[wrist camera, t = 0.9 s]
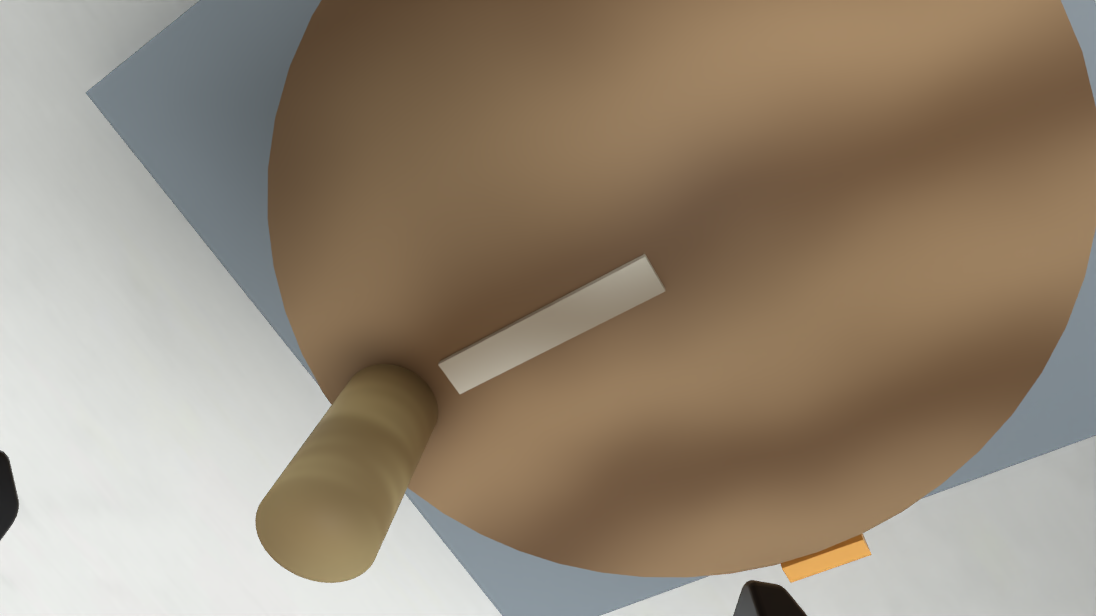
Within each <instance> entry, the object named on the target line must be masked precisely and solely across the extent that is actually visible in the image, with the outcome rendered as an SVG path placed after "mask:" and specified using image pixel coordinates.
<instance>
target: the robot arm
mask: <svg viewBox="0 0 1096 616" xmlns="http://www.w3.org/2000/svg"><path fill="white" fill-rule="evenodd" d="M18 509H19V500H18V496H17V491H16V487H15V482H14V478H13V473H12V469H11V464H10V461H9V458H8V456H7V455H6V454H5V453H4V452H3V451H1V450H0V540H1V539H2V538H3V536H4V535H5V534H6V532H7V531H8V530H9V528H10V527H11V525H12V524H13V522H14V520H15V518H16V516H17V513H18ZM733 616H807V615H806V614H805V612H804V611H803V610H802V609H801V608H800V606H799V605H798V604H797V603H796V601H795V600H794V599H793V598H792V596H791V595H790V594H789V593H788V592H787V591H786V589H784V588H783V587H782V586H780V585H777V584H771V583H766V582H760V581H754V580H751V581H748V582H746V583H745V585H744V586H743V588H742V591H741V594H740V597H739V600H738V603H737V606H736V609H735V612H734V615H733Z"/></svg>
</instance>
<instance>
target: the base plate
mask: <svg viewBox="0 0 1096 616" xmlns="http://www.w3.org/2000/svg"><path fill="white" fill-rule="evenodd" d="M320 2H321V0H200V1H198V2H197V3H196V4H195V5H194V6H192V7H191V8H190V9H189V10H187V11H186V12H185V13H184V14H182V15H181V16H180V17H179V18H177V19H176V20H175V21H174V22H172V23H171V24H170V25H169V26H167V27H166V28H165V29H164V30H163V31H161V32H160V33H159V34H158V35H156V36H155V37H154V38H153V39H151V40H150V41H149V42H148V43H146V44H145V45H144V46H143V47H141V48H140V49H139V50H138V51H137V52H135V53H134V54H133V55H132V56H130V57H129V58H128V59H127V60H125V61H124V62H123V63H122V64H120V65H119V66H118V67H117V68H115V69H114V70H113V71H112V72H111V73H109V74H108V75H107V76H106V77H104V78H103V79H102V80H101V81H99V82H98V83H97V84H96V85H94V86H93V87H92V88H91V89H89V90H88V91H87V92H86V94H87V95H88V96H89V98H90V99H91V100H92V101H93V103H94V104H95V105H96V106H97V108H98V109H99V110H100V111H101V113H102V114H103V115H104V116H105V118H106V119H107V120H108V121H109V123H110V124H111V125H112V126H113V128H114V129H115V130H116V131H117V133H118V134H119V135H120V136H121V138H122V139H123V140H124V141H125V143H126V144H127V145H128V147H129V148H130V149H131V150H132V152H133V153H134V154H135V155H136V157H137V158H138V159H139V160H140V162H141V163H142V164H143V165H144V167H145V168H146V169H147V170H148V172H149V173H150V174H151V175H152V177H153V178H154V179H155V180H156V182H157V183H158V184H159V185H160V187H161V188H162V189H163V190H164V192H165V193H166V194H167V195H168V197H169V198H170V199H171V200H172V202H173V203H174V204H175V205H176V207H177V208H178V209H179V210H180V212H181V213H182V214H183V216H184V217H185V218H186V219H187V221H188V222H189V223H190V224H191V226H192V227H193V228H194V229H195V231H196V232H197V233H198V234H199V236H200V237H201V238H202V239H203V241H204V242H205V243H206V244H207V246H208V247H209V248H210V249H211V251H212V252H213V253H214V254H215V256H216V257H217V258H218V259H219V261H220V262H221V263H222V264H223V266H224V267H225V268H226V269H227V271H228V272H229V273H230V274H231V276H232V277H233V278H234V279H235V281H236V282H237V283H238V285H239V286H240V287H241V288H242V290H243V291H244V292H245V293H246V295H247V296H248V297H249V298H250V300H251V301H252V302H253V303H254V305H255V306H256V307H257V308H258V310H259V311H260V312H261V313H262V315H263V316H264V317H265V318H266V320H267V321H268V322H269V323H270V325H271V326H272V327H273V328H274V330H275V331H276V332H277V333H278V335H279V336H280V337H281V338H282V340H283V341H284V342H285V343H286V345H287V346H288V347H289V348H290V350H291V351H292V352H293V354H294V355H295V356H296V357H297V359H298V360H299V361H300V362H301V364H302V365H303V366H304V367H305V369H306V370H307V371H308V372H309V374H310V375H311V376H312V377H313V379H314V380H315V381H316V382H317V380H316V379H315V377H314V375H313V373H312V371H311V369H310V368H309V366H308V364H307V362H306V360H305V358H304V357H303V355H302V353H301V350H300V348H299V345H298V342H297V340H296V337H295V335H294V332H293V330H292V327H291V325H290V322H289V320H288V317H287V315H286V312H285V309H284V305H283V301H282V297H281V293H280V289H279V286H278V282H277V278H276V274H275V270H274V266H273V258H272V250H271V242H270V234H269V226H268V164H269V157H270V150H271V143H272V136H273V129H274V122H275V116H276V113H277V109H278V106H279V102H280V99H281V95H282V92H283V88H284V84H285V81H286V77H287V74H288V70H289V67H290V64H291V62H292V60H293V58H294V55H295V53H296V51H297V48H298V46H299V44H300V42H301V39H302V37H303V35H304V33H305V30H306V28H307V26H308V23H309V21H310V19H311V17H312V15H313V13H314V11H315V10H316V8H317V7H318V5H319V3H320ZM1061 2H1062V4H1063V7H1064V9H1065V11H1066V14H1067V16H1068V19H1069V21H1070V23H1071V26H1072V28H1073V30H1074V33H1075V35H1076V38H1077V40H1078V42H1079V45H1080V47H1081V49H1082V52H1083V56H1084V60H1085V64H1086V68H1087V73H1088V77H1089V81H1090V85H1091V89H1092V93H1093V97H1094V101H1095V106H1096V3H1095V0H1061ZM317 384H318V382H317ZM318 385H319V384H318ZM1095 435H1096V229H1095V234H1094V238H1093V243H1092V247H1091V252H1090V256H1089V261H1088V265H1087V270H1086V274H1085V278H1084V281H1083V283H1082V286H1081V289H1080V291H1079V294H1078V297H1077V299H1076V302H1075V305H1074V307H1073V310H1072V313H1071V316H1070V318H1069V321H1068V324H1067V326H1066V328H1065V330H1064V332H1063V334H1062V336H1061V338H1060V340H1059V341H1058V343H1057V345H1056V347H1055V349H1054V351H1053V353H1052V355H1051V356H1050V358H1049V360H1048V362H1047V364H1046V366H1045V368H1044V370H1043V372H1042V373H1041V375H1040V376H1039V378H1038V379H1037V380H1036V382H1035V383H1034V385H1033V386H1032V387H1031V389H1030V390H1029V392H1028V393H1027V395H1026V396H1025V397H1024V399H1023V400H1022V402H1021V403H1020V404H1019V406H1018V407H1017V409H1016V410H1015V411H1014V413H1013V414H1012V416H1011V417H1010V418H1009V419H1008V420H1007V421H1006V422H1005V423H1004V424H1003V425H1002V427H1001V428H1000V429H999V430H998V431H997V432H996V433H995V434H994V435H993V436H992V438H991V439H990V440H989V441H988V442H987V443H986V444H985V445H984V446H983V448H982V449H981V450H980V451H979V452H978V453H977V454H976V455H974V456H973V457H972V458H971V459H970V460H969V461H968V462H966V463H965V464H964V465H963V466H962V467H961V468H960V469H958V470H957V471H956V472H955V473H954V474H953V475H952V476H950V477H949V478H948V479H947V480H946V481H945V482H944V483H942V484H941V485H940V486H938V487H937V488H935V489H934V490H933V491H931V492H930V493H928V494H927V495H925V496H924V497H923V498H925V497H927V496H930V495H933V494H936V493H938V492H941V491H944V490H947V489H949V488H952V487H955V486H958V485H960V484H963V483H966V482H969V481H971V480H974V479H977V478H980V477H982V476H985V475H988V474H991V473H993V472H996V471H999V470H1002V469H1004V468H1007V467H1010V466H1013V465H1015V464H1018V463H1021V462H1024V461H1026V460H1029V459H1032V458H1035V457H1037V456H1040V455H1043V454H1046V453H1048V452H1051V451H1054V450H1057V449H1059V448H1062V447H1065V446H1068V445H1070V444H1073V443H1076V442H1079V441H1081V440H1084V439H1087V438H1090V437H1092V436H1095ZM405 494H406V495H407V497H408V498H409V499H410V500H411V502H412V503H413V504H414V505H415V507H416V508H417V509H418V510H419V512H420V513H421V514H422V515H423V517H424V518H425V519H426V520H427V522H428V523H429V524H430V525H431V527H432V528H433V529H434V530H435V532H436V533H437V534H438V535H439V537H440V538H441V539H442V540H443V542H444V543H445V544H446V545H447V547H448V548H449V549H450V550H451V552H452V553H453V554H454V555H455V557H456V558H457V559H458V561H459V562H460V563H461V564H462V566H463V567H464V568H465V569H466V571H467V572H468V573H469V574H470V576H471V577H472V578H473V579H474V581H475V582H476V583H477V584H478V586H479V587H480V588H481V589H482V591H483V592H484V593H485V594H486V596H487V597H488V598H489V599H490V601H491V602H492V603H493V604H494V606H495V607H496V608H497V609H498V611H499V612H500V613H501V614H502V616H600V615H603V614H606V613H608V612H611V611H614V610H617V609H619V608H622V607H625V606H628V605H630V604H633V603H636V602H639V601H641V600H644V599H647V598H650V597H652V596H655V595H658V594H661V593H663V592H666V591H669V590H672V589H674V588H677V587H680V586H683V585H685V584H688V583H691V582H694V581H696V580H699V579H702V578H705V577H707V576H698V577H638V576H629V575H619V574H610V573H601V572H596V571H591V570H587V569H582V568H577V567H572V566H568V565H563V564H558V563H555V562H552V561H549V560H546V559H543V558H540V557H536V556H533V555H530V554H527V553H524V552H521V551H518V550H516V549H513V548H511V547H509V546H506V545H504V544H502V543H499V542H497V541H495V540H493V539H490V538H488V537H486V536H483V535H481V534H479V533H477V532H476V531H474V530H472V529H470V528H468V527H467V526H465V525H463V524H461V523H460V522H458V521H456V520H454V519H453V518H451V517H449V516H447V515H445V514H444V513H442V512H441V511H439V510H438V509H437V508H435V507H434V506H432V505H431V504H430V503H428V502H427V501H425V500H424V499H423V498H421V497H420V496H418V495H417V494H416V493H414V492H413V491H411V490H410V489H409V488H408V487H407V489H406V491H405ZM921 499H922V498H921ZM869 555H872V554H871V552H870V550H869V548H868V545H867V543H866V541H865V538H864V536H863V534H860V535H858V536H855V537H853V538H851V539H848V540H846V541H843V542H841V543H839V544H836V545H834V546H831V547H829V548H826V549H824V550H822V551H819V552H816V553H813V554H810V555H806V556H803V557H800V558H796V559H793V560H790V561H786V562H783V563H781V566H782V569H783V571H784V572H785V574H786V576H787V577H788V579H789V581H790V582H794V581H797V580H800V579H803V578H806V577H809V576H812V575H814V574H817V573H820V572H823V571H826V570H829V569H832V568H835V567H837V566H840V565H843V564H846V563H849V562H852V561H855V560H858V559H860V558H863V557H866V556H869ZM709 576H710V575H709Z"/></svg>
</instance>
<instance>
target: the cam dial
mask: <svg viewBox="0 0 1096 616" xmlns="http://www.w3.org/2000/svg"><path fill="white" fill-rule="evenodd" d="M268 226H269V234H270V242H271V250H272V258H273V266H274V270H275V274H276V278H277V282H278V286H279V289H280V293H281V297H282V301H283V305H284V309H285V312H286V315H287V317H288V320H289V322H290V325H291V327H292V330H293V332H294V335H295V337H296V340H297V342H298V345H299V348H300V350H301V353H302V355H303V357H304V358H305V360H306V362H307V364H308V366H309V368H310V369H311V371H312V373H313V375H314V377H315V379H316V380H317V382H318V384H319V386H320V388H321V390H322V391H323V393H324V395H325V396H326V397H327V399H328V400H329V402H330V403H331V404H332V405H331V407H330V408H329V410H328V411H327V412H326V414H325V415H324V416H323V418H322V419H321V421H320V422H319V423H318V425H317V426H316V427H315V429H314V430H313V432H312V433H311V434H310V436H309V437H308V438H307V440H306V441H305V443H304V444H303V445H302V447H301V448H300V449H299V451H298V452H297V454H296V455H295V456H294V458H293V459H292V460H291V462H290V463H289V464H288V466H287V467H286V469H285V470H284V471H283V473H282V474H281V475H280V477H279V478H278V480H277V481H276V482H275V484H274V485H273V486H272V488H271V489H270V491H269V492H268V493H267V495H266V496H265V497H264V499H263V500H262V502H261V503H260V505H259V507H258V510H257V513H256V530H257V534H258V537H259V539H260V541H261V544H262V545H263V547H264V548H265V550H266V551H267V552H268V554H269V555H270V556H271V557H272V558H273V559H274V560H275V561H276V562H277V563H278V564H280V565H281V566H282V567H284V568H285V569H287V570H288V571H290V572H292V573H294V574H296V575H298V576H300V577H303V578H306V579H309V580H313V581H318V582H326V583H335V582H343V581H347V580H351V579H353V578H356V577H358V576H360V575H361V574H363V573H364V572H365V571H366V570H367V569H368V568H369V567H370V566H371V565H372V563H373V562H374V560H375V558H376V556H377V553H378V551H379V549H380V547H381V545H382V542H383V540H384V538H385V536H386V534H387V531H388V529H389V527H390V525H391V522H392V520H393V518H394V516H395V514H396V511H397V509H398V507H399V505H400V503H401V500H402V498H403V496H404V494H405V491H406V489H407V487H408V488H409V489H410V490H411V491H413V492H414V493H416V494H417V495H418V496H420V497H421V498H423V499H424V500H425V501H427V502H428V503H430V504H431V505H432V506H434V507H435V508H437V509H438V510H439V511H441V512H442V513H444V514H445V515H447V516H449V517H451V518H453V519H454V520H456V521H458V522H460V523H461V524H463V525H465V526H467V527H468V528H470V529H472V530H474V531H476V532H477V533H479V534H481V535H483V536H486V537H488V538H490V539H493V540H495V541H497V542H499V543H502V544H504V545H506V546H509V547H511V548H513V549H516V550H518V551H521V552H524V553H527V554H530V555H533V556H536V557H540V558H543V559H546V560H549V561H552V562H555V563H558V564H563V565H568V566H572V567H577V568H582V569H587V570H591V571H596V572H601V573H610V574H619V575H629V576H638V577H698V576H709V575H720V574H731V573H736V572H741V571H746V570H752V569H757V568H762V567H767V566H772V565H776V564H780V563H783V562H786V561H790V560H793V559H796V558H800V557H803V556H806V555H810V554H813V553H816V552H819V551H822V550H824V549H826V548H829V547H831V546H834V545H836V544H839V543H841V542H843V541H846V540H848V539H851V538H853V537H855V536H858V535H860V534H862V533H864V532H866V531H868V530H869V529H871V528H873V527H875V526H877V525H879V524H880V523H882V522H884V521H886V520H888V519H890V518H891V517H893V516H895V515H897V514H899V513H901V512H902V511H904V510H905V509H907V508H908V507H910V506H911V505H912V504H914V503H915V502H917V501H918V500H920V499H921V498H923V497H924V496H925V495H927V494H928V493H930V492H931V491H933V490H934V489H935V488H937V487H938V486H940V485H941V484H942V483H944V482H945V481H946V480H947V479H948V478H949V477H950V476H952V475H953V474H954V473H955V472H956V471H957V470H958V469H960V468H961V467H962V466H963V465H964V464H965V463H966V462H968V461H969V460H970V459H971V458H972V457H973V456H974V455H976V454H977V453H978V452H979V451H980V450H981V449H982V448H983V446H984V445H985V444H986V443H987V442H988V441H989V440H990V439H991V438H992V436H993V435H994V434H995V433H996V432H997V431H998V430H999V429H1000V428H1001V427H1002V425H1003V424H1004V423H1005V422H1006V421H1007V420H1008V419H1009V418H1010V417H1011V416H1012V414H1013V413H1014V411H1015V410H1016V409H1017V407H1018V406H1019V404H1020V403H1021V402H1022V400H1023V399H1024V397H1025V396H1026V395H1027V393H1028V392H1029V390H1030V389H1031V387H1032V386H1033V385H1034V383H1035V382H1036V380H1037V379H1038V378H1039V376H1040V375H1041V373H1042V372H1043V370H1044V368H1045V366H1046V364H1047V362H1048V360H1049V358H1050V356H1051V355H1052V353H1053V351H1054V349H1055V347H1056V345H1057V343H1058V341H1059V340H1060V338H1061V336H1062V334H1063V332H1064V330H1065V328H1066V326H1067V324H1068V321H1069V318H1070V316H1071V313H1072V310H1073V307H1074V305H1075V302H1076V299H1077V297H1078V294H1079V291H1080V289H1081V286H1082V283H1083V281H1084V278H1085V274H1086V270H1087V265H1088V261H1089V256H1090V252H1091V247H1092V243H1093V238H1094V234H1095V229H1096V106H1095V101H1094V97H1093V93H1092V89H1091V85H1090V81H1089V77H1088V73H1087V68H1086V64H1085V60H1084V56H1083V52H1082V49H1081V47H1080V45H1079V42H1078V40H1077V38H1076V35H1075V33H1074V30H1073V28H1072V26H1071V23H1070V21H1069V19H1068V16H1067V14H1066V11H1065V9H1064V7H1063V4H1062V2H1061V0H321V2H320V3H319V5H318V7H317V8H316V10H315V11H314V13H313V15H312V17H311V19H310V21H309V23H308V26H307V28H306V30H305V33H304V35H303V37H302V39H301V42H300V44H299V46H298V48H297V51H296V53H295V55H294V58H293V60H292V62H291V64H290V67H289V70H288V74H287V77H286V81H285V84H284V88H283V92H282V95H281V99H280V102H279V106H278V109H277V113H276V116H275V122H274V129H273V136H272V143H271V150H270V157H269V164H268Z"/></svg>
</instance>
